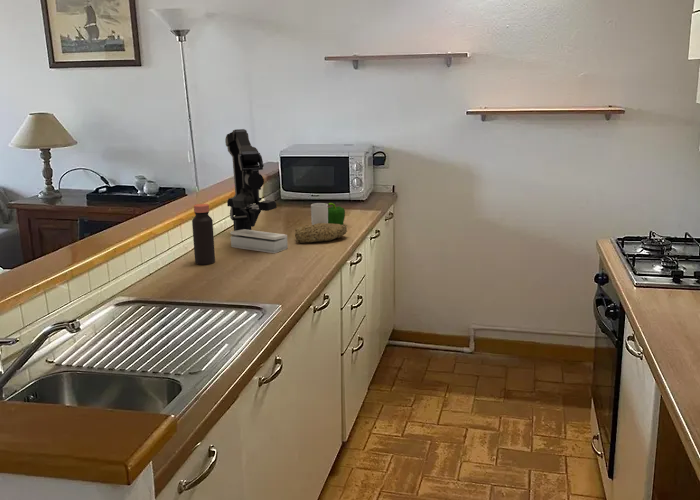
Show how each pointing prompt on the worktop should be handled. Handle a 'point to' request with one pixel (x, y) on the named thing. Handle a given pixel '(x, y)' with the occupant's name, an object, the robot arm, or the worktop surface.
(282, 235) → the lid
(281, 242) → the cable tray
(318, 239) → the rock
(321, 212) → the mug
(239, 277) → the worktop surface
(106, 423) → the worktop surface
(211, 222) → the bottle
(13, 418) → the worktop surface
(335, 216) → the bell pepper
